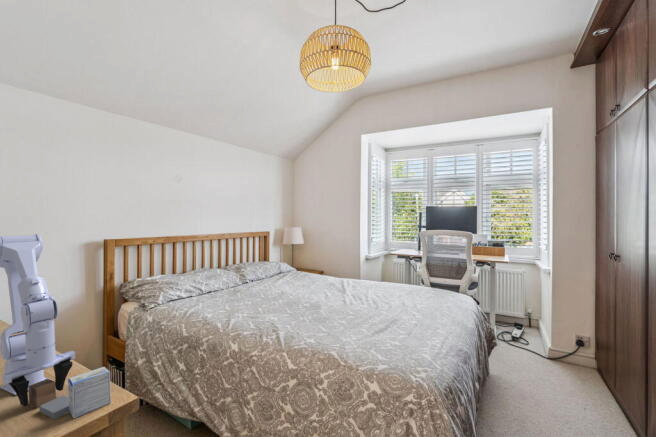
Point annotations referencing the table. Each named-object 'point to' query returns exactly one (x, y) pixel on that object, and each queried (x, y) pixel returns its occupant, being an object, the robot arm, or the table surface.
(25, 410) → the table surface
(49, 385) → the walnut cube
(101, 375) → the medicine box
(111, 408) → the table surface
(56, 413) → the slate block
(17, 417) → the table surface
